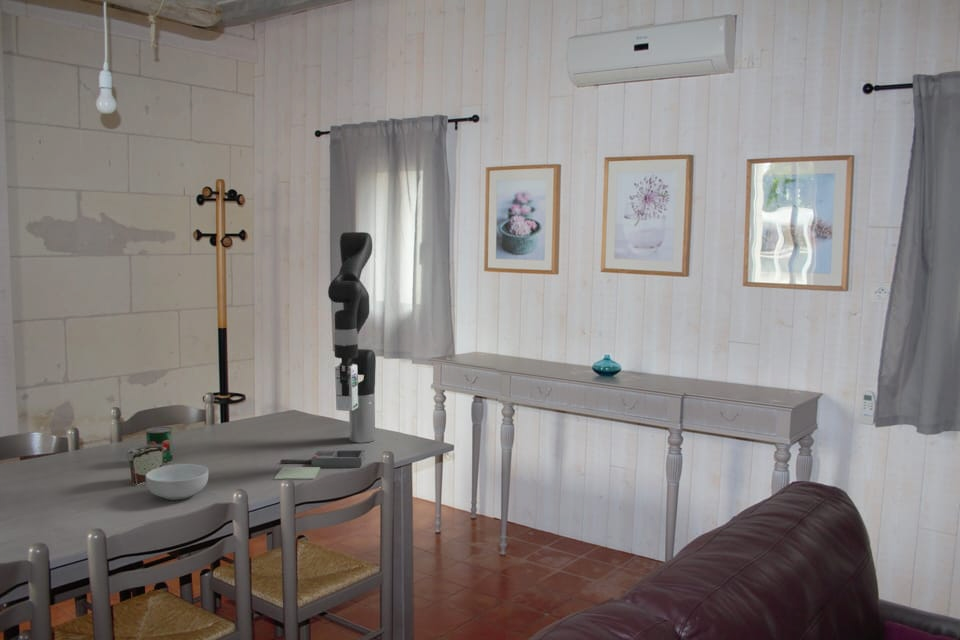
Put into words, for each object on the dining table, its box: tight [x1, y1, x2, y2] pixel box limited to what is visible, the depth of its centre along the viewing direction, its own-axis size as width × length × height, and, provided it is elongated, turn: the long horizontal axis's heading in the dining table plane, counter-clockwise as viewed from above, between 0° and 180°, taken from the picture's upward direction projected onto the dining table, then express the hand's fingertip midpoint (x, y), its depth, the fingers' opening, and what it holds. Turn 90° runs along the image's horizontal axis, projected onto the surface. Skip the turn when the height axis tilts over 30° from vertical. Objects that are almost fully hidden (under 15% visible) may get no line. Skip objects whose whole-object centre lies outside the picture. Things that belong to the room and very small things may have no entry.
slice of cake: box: [125, 444, 165, 486], centre depth 250 cm, size 12×6×10 cm, turn 152°
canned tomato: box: [145, 426, 174, 465], centre depth 270 cm, size 8×8×11 cm
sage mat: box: [273, 466, 321, 481], centre depth 257 cm, size 12×12×1 cm
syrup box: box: [334, 364, 359, 412], centre depth 267 cm, size 6×6×14 cm
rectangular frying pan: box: [279, 449, 366, 468], centre depth 269 cm, size 10×27×3 cm, turn 91°
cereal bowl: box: [145, 463, 209, 501], centre depth 235 cm, size 17×17×7 cm
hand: (347, 393), depth 267 cm, fingers closed on syrup box, 6 cm apart
